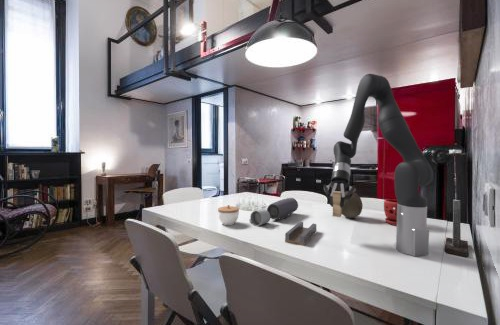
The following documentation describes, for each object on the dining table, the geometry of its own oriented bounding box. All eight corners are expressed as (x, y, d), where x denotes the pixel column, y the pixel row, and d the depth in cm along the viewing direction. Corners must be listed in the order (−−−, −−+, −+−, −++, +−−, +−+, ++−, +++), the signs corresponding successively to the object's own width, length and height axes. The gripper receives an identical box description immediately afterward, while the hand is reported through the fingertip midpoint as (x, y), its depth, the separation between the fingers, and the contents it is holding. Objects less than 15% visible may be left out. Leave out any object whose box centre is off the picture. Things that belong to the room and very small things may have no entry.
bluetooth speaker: (284, 212, 152) (285, 196, 152) (298, 214, 147) (299, 197, 146) (265, 220, 133) (265, 201, 133) (280, 223, 128) (281, 203, 128)
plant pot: (417, 228, 120) (418, 203, 119) (388, 226, 122) (389, 202, 122) (406, 221, 132) (407, 199, 132) (380, 219, 135) (380, 198, 135)
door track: (299, 228, 118) (299, 221, 118) (316, 231, 114) (316, 224, 114) (285, 241, 100) (285, 233, 100) (304, 245, 96) (304, 236, 96)
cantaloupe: (357, 215, 145) (358, 189, 145) (365, 221, 131) (366, 193, 131) (333, 214, 147) (333, 189, 147) (337, 220, 133) (338, 192, 133)
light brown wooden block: (334, 214, 106) (334, 191, 105) (341, 215, 104) (341, 191, 104) (332, 216, 102) (332, 192, 102) (340, 217, 101) (340, 192, 101)
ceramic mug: (271, 223, 126) (271, 209, 126) (261, 227, 120) (261, 211, 120) (255, 220, 133) (255, 206, 133) (245, 223, 127) (245, 209, 126)
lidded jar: (229, 227, 119) (229, 208, 119) (213, 223, 126) (213, 205, 125) (243, 222, 128) (243, 204, 127) (227, 219, 134) (227, 202, 134)
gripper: (324, 168, 113) (317, 199, 102) (357, 169, 106) (354, 202, 96) (326, 179, 117) (320, 209, 107) (358, 180, 111) (355, 213, 100)
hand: (336, 205), depth 101 cm, fingers closed on light brown wooden block, 3 cm apart
